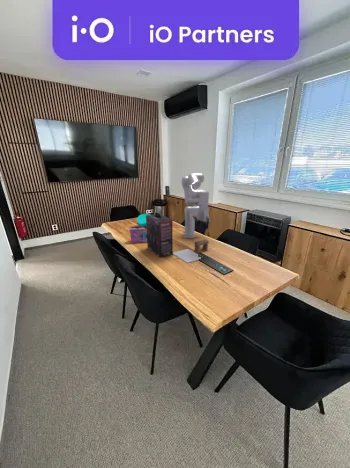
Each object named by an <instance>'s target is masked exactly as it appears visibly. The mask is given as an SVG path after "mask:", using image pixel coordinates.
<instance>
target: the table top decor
mask: <svg viewBox="0 0 350 468" xmlns="http://www.w3.org/2000/svg"><path fill="white" fill-rule="evenodd" d="M146 215H152V214H150V213H143V214H139V215H138V217H137V218H136V219H137V224H138V225H139V227H142V226H146Z"/></svg>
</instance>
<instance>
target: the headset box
mask: <svg viewBox="0 0 350 468" xmlns="http://www.w3.org/2000/svg"><path fill="white" fill-rule="evenodd" d="M146 226H147V242H146V245H147V249H148V250H150V251H151V252H153V254H154V255H155V254H156V255H157V256H158V257H159V258H163V257H167V256H171V255H174V254H173V253H174V252H173V251H174V250H173V248H174V247H173V219H172V218H169V217H167V216H165V215H162V214H160V213H158V212H155V211H154V214H151V215H146Z"/></svg>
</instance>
